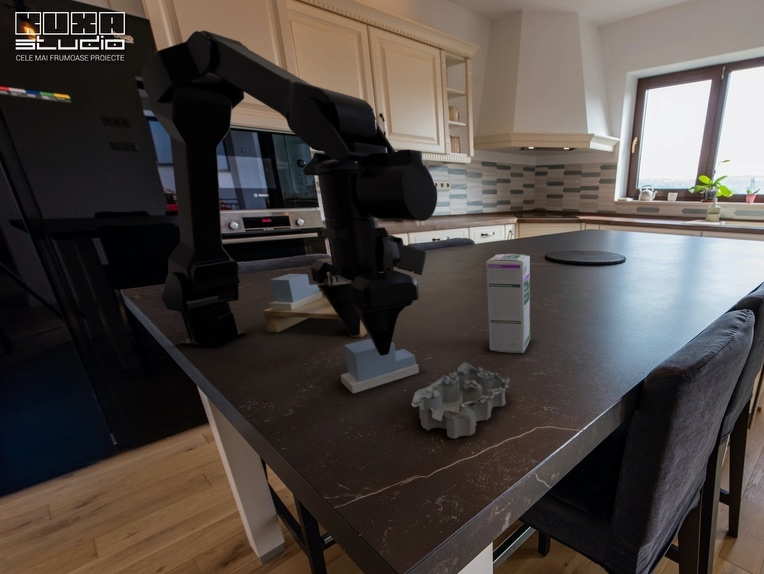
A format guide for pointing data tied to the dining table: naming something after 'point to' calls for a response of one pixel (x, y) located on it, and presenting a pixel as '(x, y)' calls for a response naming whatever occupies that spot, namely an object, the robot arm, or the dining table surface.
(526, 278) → the syrup box
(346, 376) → the trainer
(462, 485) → the dining table surface
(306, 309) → the shoe shelf
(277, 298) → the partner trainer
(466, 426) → the egg carton
